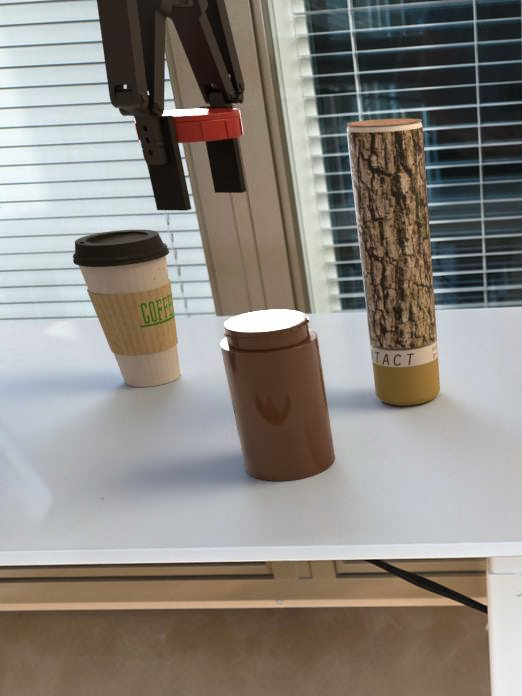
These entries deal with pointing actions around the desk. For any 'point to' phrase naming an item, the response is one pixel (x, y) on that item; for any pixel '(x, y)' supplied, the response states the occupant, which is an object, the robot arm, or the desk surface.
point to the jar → (278, 394)
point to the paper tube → (396, 257)
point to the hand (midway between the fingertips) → (203, 200)
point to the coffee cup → (132, 302)
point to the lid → (205, 124)
